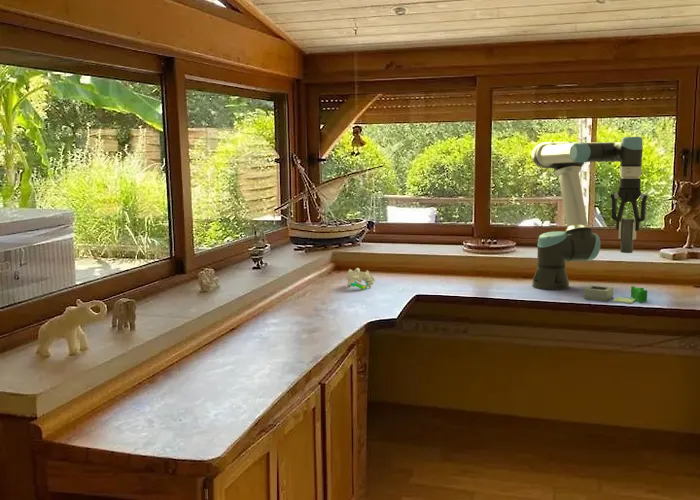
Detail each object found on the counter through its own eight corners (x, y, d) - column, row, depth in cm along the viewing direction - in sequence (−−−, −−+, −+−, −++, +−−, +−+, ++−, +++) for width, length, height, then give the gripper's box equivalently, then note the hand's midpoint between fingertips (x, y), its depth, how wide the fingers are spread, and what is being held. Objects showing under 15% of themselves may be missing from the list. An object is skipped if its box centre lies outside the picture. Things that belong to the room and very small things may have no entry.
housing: (583, 298, 280) (584, 288, 280) (590, 294, 288) (590, 285, 287) (607, 301, 275) (607, 291, 275) (612, 297, 283) (613, 287, 282)
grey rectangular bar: (619, 252, 272) (620, 219, 270) (621, 251, 276) (623, 218, 274) (631, 253, 269) (632, 219, 268) (633, 251, 273) (635, 218, 271)
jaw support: (337, 283, 299) (344, 265, 305) (343, 295, 306) (349, 277, 311) (362, 285, 294) (369, 267, 300) (368, 298, 301) (375, 280, 306)
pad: (612, 301, 275) (612, 300, 274) (617, 298, 280) (617, 296, 280) (631, 303, 271) (631, 302, 271) (635, 300, 276) (635, 298, 276)
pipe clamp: (649, 303, 272) (649, 292, 271) (638, 303, 272) (639, 291, 272) (640, 297, 283) (640, 286, 282) (630, 297, 283) (631, 285, 283)
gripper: (603, 177, 270) (601, 238, 274) (652, 178, 260) (649, 241, 264) (609, 177, 276) (606, 236, 280) (656, 177, 267) (653, 239, 270)
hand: (627, 238), depth 272 cm, fingers closed on grey rectangular bar, 4 cm apart
